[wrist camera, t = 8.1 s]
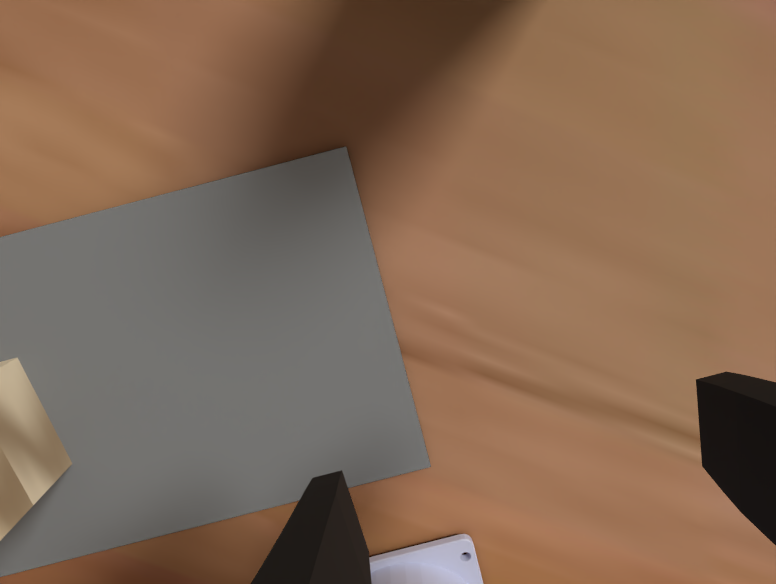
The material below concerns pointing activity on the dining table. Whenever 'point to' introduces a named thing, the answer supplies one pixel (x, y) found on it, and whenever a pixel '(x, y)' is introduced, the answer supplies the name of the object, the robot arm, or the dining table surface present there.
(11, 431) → the tower lower
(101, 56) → the dining table surface
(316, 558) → the robot arm
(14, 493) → the tower upper
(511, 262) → the dining table surface
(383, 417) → the slate mat
